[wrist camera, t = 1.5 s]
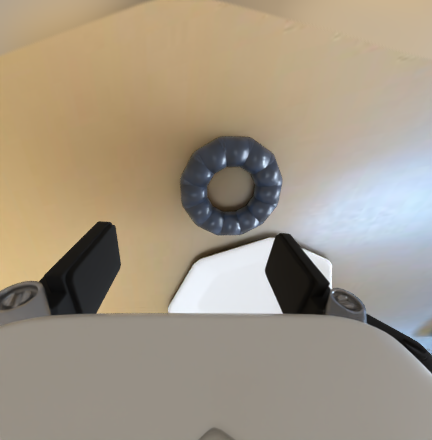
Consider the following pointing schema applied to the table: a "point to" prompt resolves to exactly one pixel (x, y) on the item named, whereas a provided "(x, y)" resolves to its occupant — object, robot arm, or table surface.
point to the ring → (219, 159)
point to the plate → (234, 281)
